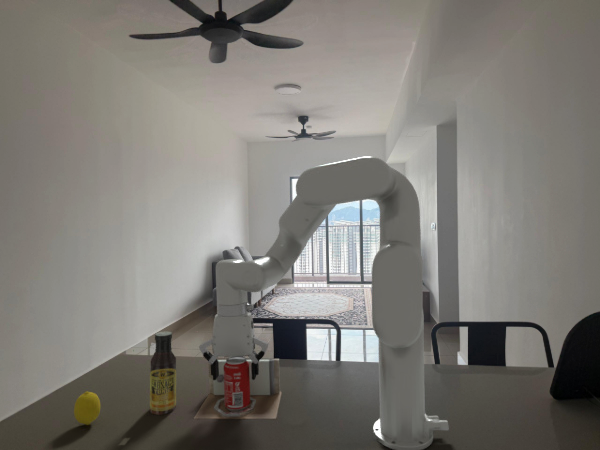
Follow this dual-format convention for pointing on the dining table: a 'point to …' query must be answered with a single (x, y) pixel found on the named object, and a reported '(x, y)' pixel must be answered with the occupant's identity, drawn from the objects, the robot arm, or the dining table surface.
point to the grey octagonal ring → (234, 414)
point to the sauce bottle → (163, 375)
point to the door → (258, 386)
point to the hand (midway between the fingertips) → (235, 377)
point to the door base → (263, 408)
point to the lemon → (87, 408)
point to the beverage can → (236, 384)
